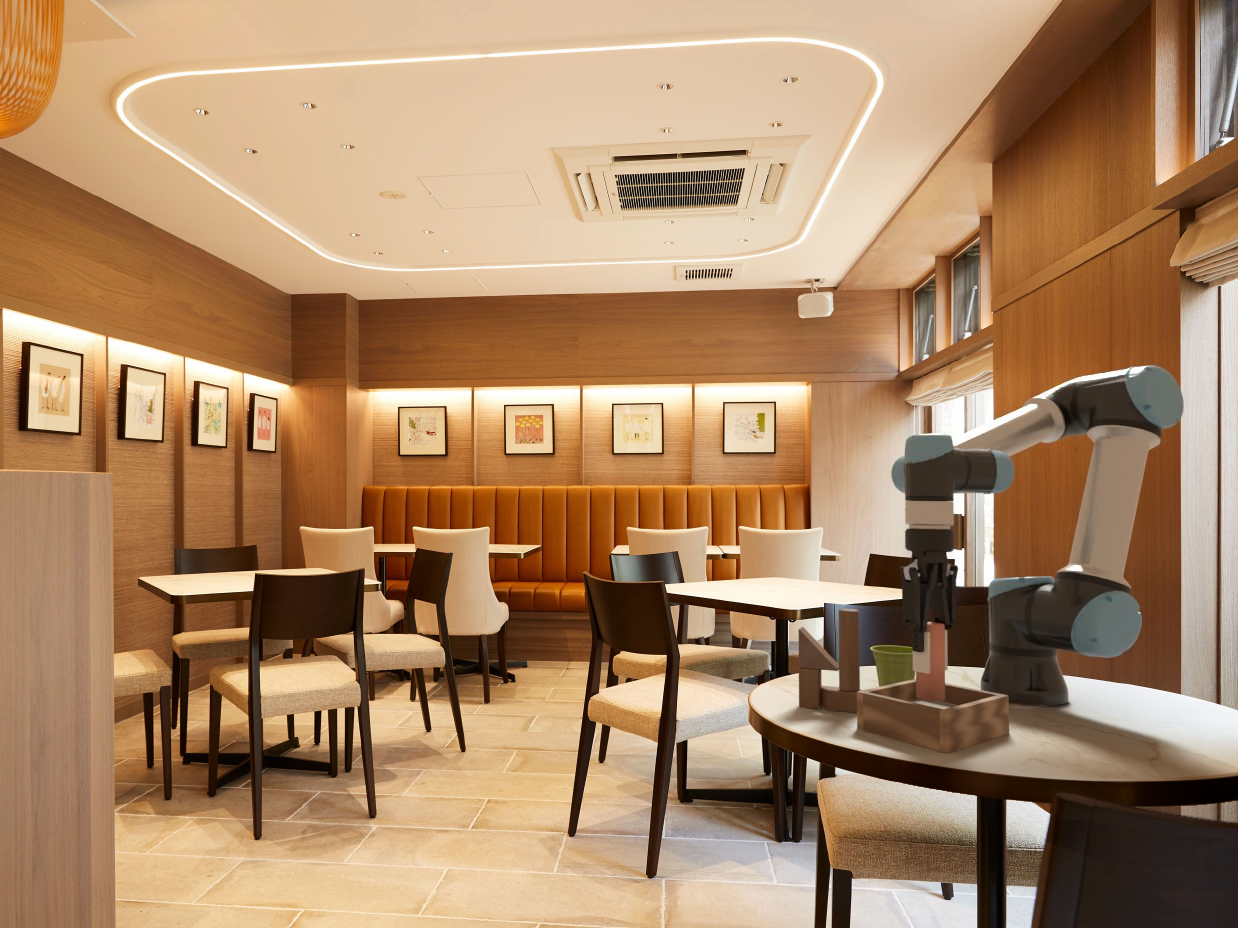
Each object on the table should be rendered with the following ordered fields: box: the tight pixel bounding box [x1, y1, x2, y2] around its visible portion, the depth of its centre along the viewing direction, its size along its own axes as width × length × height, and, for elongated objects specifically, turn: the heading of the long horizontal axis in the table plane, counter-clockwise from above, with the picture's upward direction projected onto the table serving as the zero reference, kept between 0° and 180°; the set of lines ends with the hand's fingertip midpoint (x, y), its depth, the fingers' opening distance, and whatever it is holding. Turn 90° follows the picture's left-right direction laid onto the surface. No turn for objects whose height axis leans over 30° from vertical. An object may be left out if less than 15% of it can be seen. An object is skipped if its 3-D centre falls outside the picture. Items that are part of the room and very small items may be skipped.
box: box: [856, 678, 1010, 754], centre depth 128 cm, size 18×16×6 cm
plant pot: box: [869, 644, 916, 687], centre depth 154 cm, size 9×9×9 cm
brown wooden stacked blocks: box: [797, 608, 863, 714], centre depth 143 cm, size 4×11×18 cm, turn 66°
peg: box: [915, 621, 946, 701], centre depth 129 cm, size 4×4×12 cm
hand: (930, 669), depth 128 cm, fingers closed on peg, 4 cm apart
